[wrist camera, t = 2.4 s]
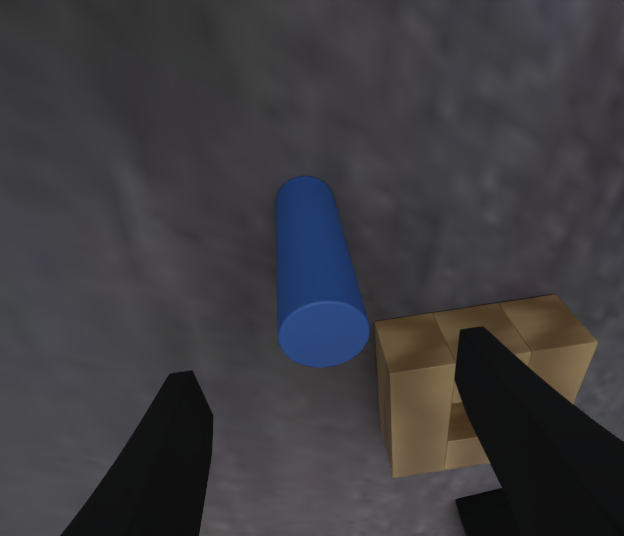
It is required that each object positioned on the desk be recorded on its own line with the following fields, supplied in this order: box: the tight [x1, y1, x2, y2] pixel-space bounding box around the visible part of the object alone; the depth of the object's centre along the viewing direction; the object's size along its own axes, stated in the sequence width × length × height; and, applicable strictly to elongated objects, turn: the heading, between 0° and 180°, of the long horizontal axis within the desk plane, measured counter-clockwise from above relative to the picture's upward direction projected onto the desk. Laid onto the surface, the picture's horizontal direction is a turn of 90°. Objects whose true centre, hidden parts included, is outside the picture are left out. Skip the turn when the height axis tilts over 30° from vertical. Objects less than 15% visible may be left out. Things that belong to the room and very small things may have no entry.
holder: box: [374, 294, 598, 478], centre depth 26 cm, size 11×11×4 cm
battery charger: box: [456, 489, 523, 536], centre depth 39 cm, size 13×10×4 cm
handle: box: [276, 176, 370, 367], centre depth 16 cm, size 3×3×9 cm
